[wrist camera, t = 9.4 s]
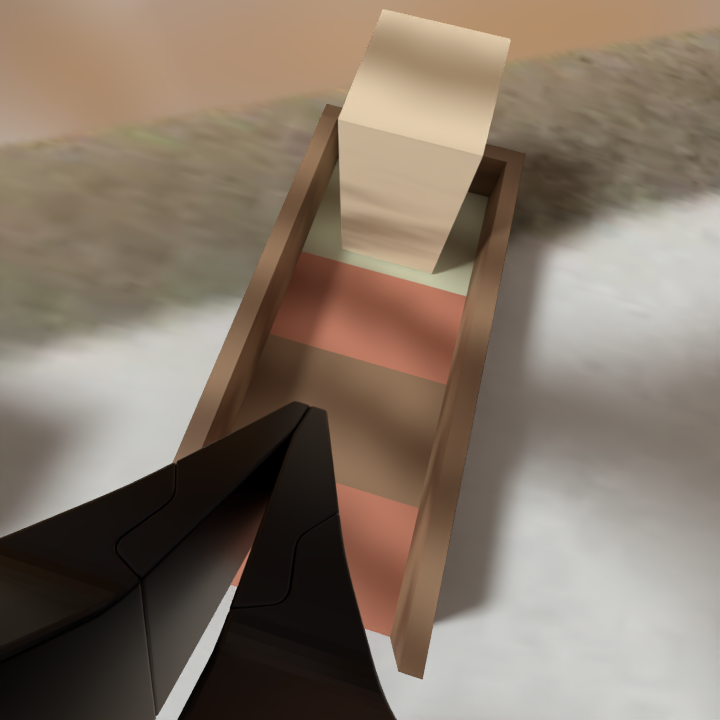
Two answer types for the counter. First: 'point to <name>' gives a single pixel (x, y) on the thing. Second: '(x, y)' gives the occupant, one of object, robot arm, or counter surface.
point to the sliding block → (414, 135)
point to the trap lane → (372, 375)
